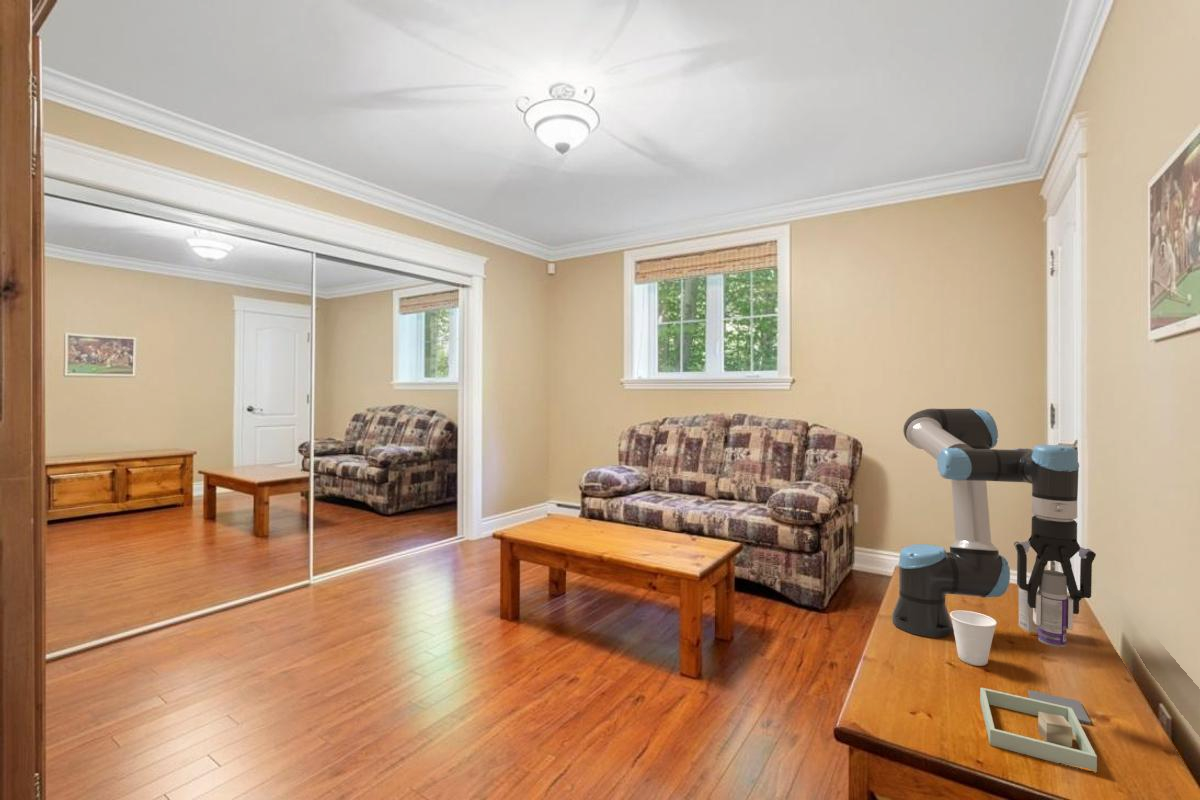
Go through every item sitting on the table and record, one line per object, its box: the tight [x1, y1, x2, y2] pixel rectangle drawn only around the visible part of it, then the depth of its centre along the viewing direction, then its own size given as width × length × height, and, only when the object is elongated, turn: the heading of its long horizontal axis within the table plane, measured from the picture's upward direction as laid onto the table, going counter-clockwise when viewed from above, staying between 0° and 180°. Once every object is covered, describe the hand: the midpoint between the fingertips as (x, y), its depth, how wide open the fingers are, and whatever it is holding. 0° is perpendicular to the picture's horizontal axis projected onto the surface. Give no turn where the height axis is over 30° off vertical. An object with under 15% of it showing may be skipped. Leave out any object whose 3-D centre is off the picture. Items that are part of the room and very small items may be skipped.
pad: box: [1027, 689, 1092, 726], centre depth 117 cm, size 9×9×1 cm
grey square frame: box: [979, 687, 1098, 772], centre depth 108 cm, size 16×18×3 cm
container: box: [1037, 569, 1068, 648], centre depth 116 cm, size 5×5×15 cm
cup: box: [949, 609, 998, 667], centre depth 138 cm, size 10×10×11 cm
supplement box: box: [1018, 586, 1039, 636], centre depth 155 cm, size 8×5×13 cm, turn 84°
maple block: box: [1037, 712, 1073, 748], centre depth 107 cm, size 4×4×4 cm
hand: (1052, 624), depth 116 cm, fingers closed on container, 5 cm apart
